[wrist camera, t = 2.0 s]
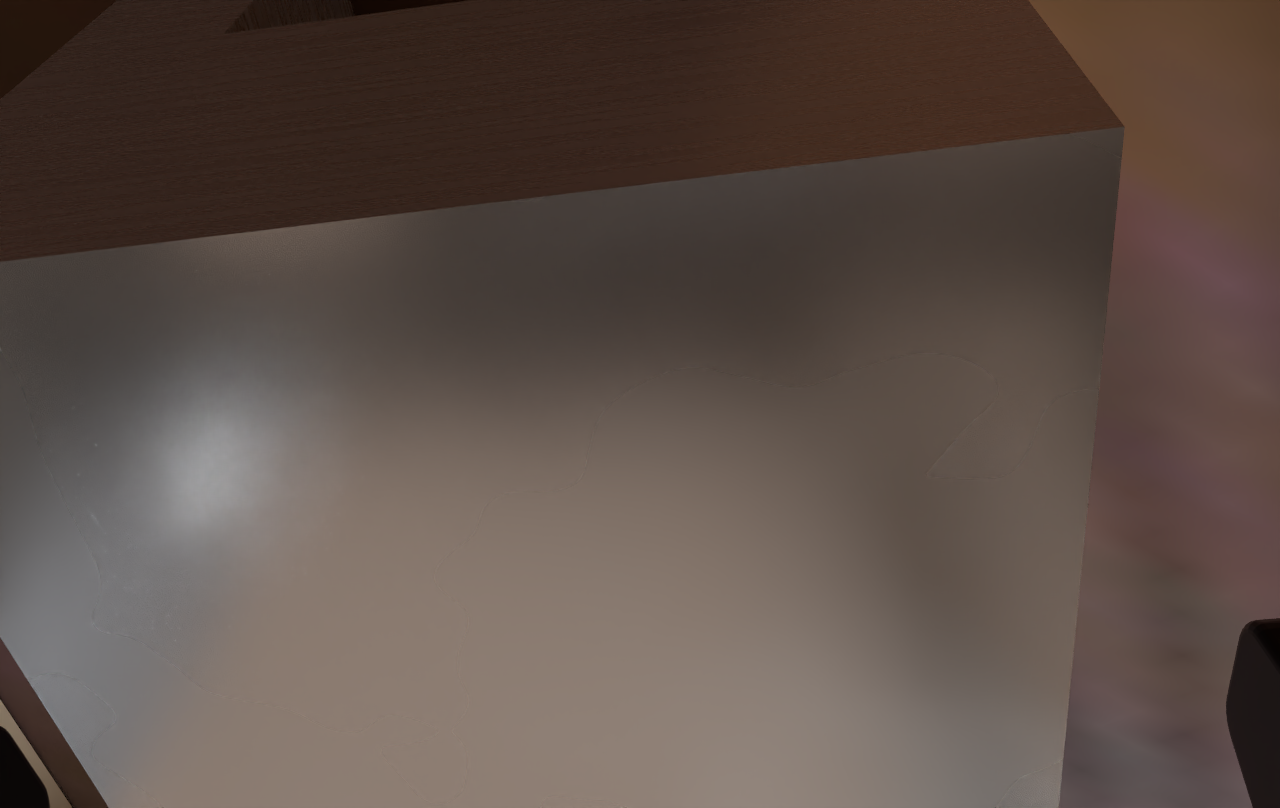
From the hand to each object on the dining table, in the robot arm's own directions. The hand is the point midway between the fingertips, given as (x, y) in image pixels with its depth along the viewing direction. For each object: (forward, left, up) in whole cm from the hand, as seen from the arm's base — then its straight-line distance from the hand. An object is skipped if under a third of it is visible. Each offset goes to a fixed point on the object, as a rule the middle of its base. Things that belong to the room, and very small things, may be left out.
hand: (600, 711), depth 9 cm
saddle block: (0, 0, -5) cm, 5 cm away
